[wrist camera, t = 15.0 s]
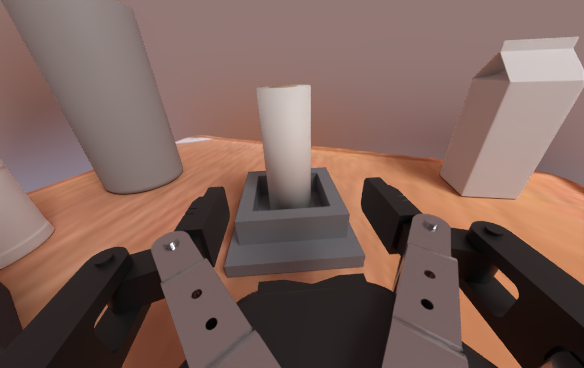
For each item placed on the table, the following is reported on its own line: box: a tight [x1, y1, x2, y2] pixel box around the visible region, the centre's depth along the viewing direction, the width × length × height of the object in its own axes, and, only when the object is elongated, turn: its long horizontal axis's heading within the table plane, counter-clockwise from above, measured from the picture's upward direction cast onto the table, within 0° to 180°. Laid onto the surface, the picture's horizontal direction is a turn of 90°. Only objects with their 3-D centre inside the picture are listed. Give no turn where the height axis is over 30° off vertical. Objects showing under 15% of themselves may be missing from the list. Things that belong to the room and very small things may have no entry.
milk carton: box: [439, 37, 584, 199], centre depth 28 cm, size 7×7×19 cm
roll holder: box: [224, 167, 365, 278], centre depth 26 cm, size 13×16×4 cm
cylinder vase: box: [1, 0, 183, 194], centre depth 33 cm, size 12×12×25 cm
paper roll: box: [256, 85, 311, 210], centre depth 22 cm, size 5×5×14 cm
